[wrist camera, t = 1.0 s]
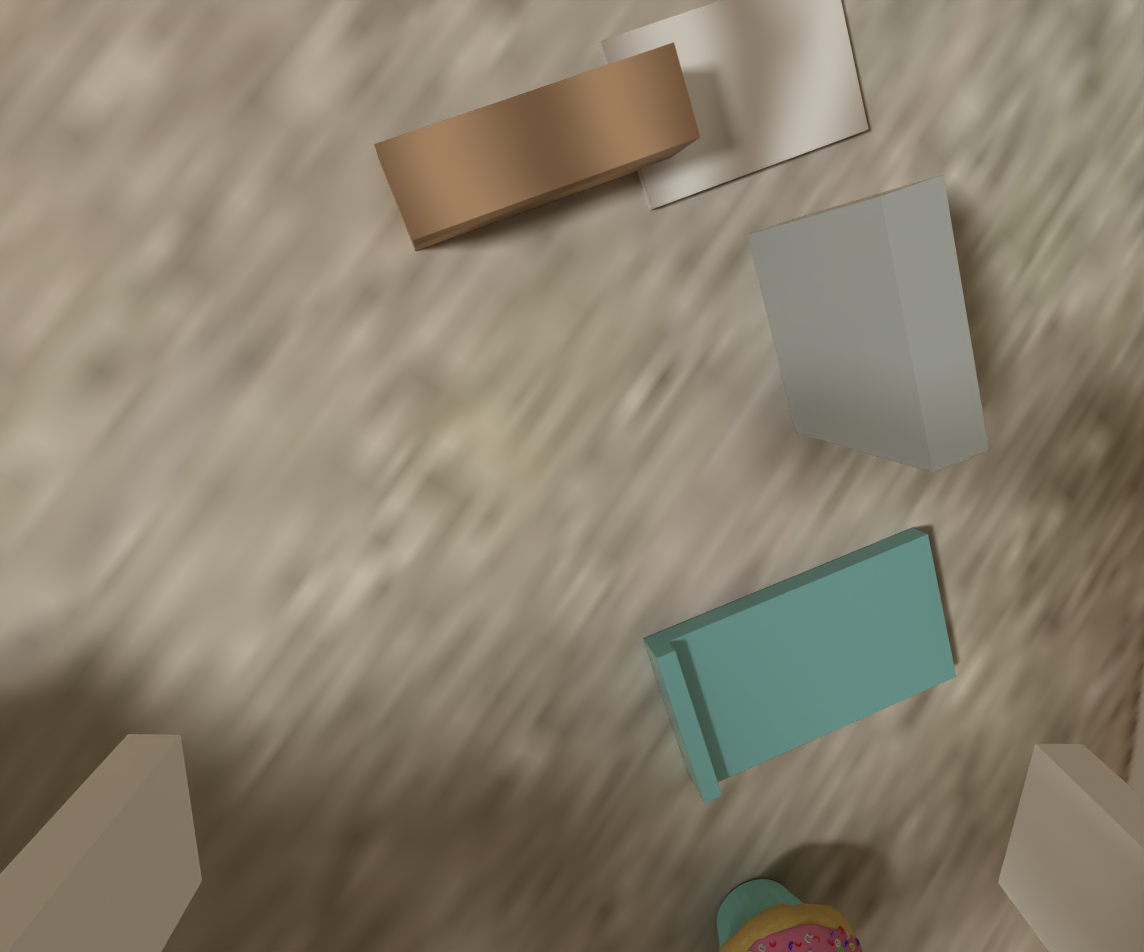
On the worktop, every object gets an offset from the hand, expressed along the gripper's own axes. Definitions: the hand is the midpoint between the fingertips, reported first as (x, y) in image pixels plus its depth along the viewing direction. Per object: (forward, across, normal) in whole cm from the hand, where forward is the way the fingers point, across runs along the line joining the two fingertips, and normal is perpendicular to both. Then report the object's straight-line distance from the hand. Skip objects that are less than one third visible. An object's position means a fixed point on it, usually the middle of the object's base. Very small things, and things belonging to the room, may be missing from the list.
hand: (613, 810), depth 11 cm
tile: (+25, -11, -6) cm, 28 cm away
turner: (+25, -2, -14) cm, 28 cm away
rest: (+24, -13, +12) cm, 30 cm away
